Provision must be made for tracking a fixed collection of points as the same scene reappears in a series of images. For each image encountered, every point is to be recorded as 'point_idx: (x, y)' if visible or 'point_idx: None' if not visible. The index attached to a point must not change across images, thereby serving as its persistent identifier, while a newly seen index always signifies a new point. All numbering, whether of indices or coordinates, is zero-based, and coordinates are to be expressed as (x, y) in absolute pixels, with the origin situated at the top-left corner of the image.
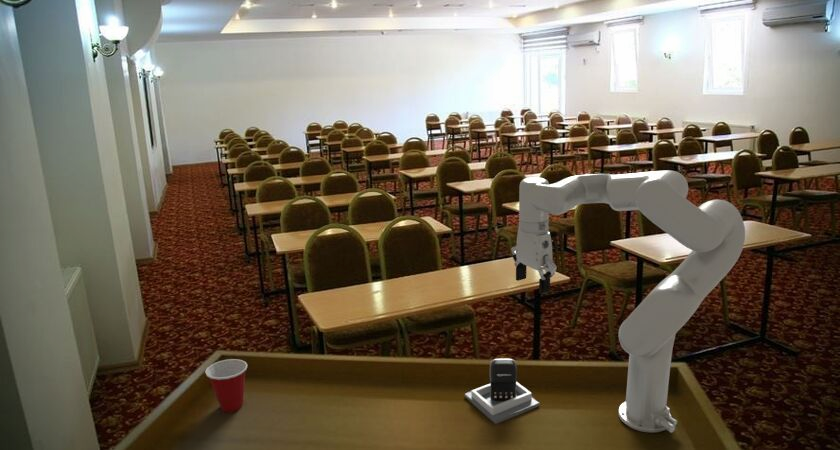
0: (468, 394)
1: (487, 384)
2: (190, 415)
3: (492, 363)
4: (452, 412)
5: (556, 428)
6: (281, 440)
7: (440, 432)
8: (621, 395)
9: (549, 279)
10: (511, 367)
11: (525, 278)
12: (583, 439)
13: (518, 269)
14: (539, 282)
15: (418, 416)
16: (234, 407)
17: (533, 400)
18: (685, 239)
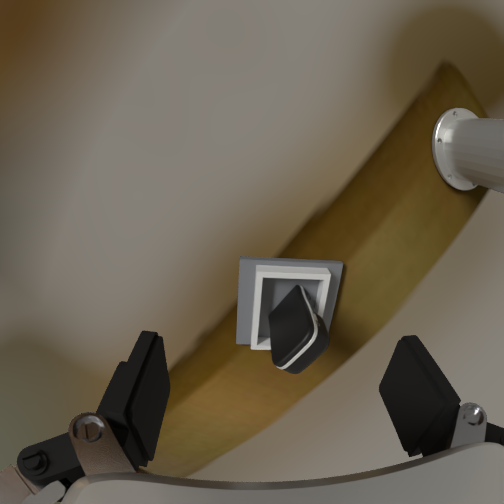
0: (241, 341)
1: (253, 320)
2: None
3: (287, 371)
4: (258, 369)
5: (394, 277)
6: (197, 468)
7: (284, 395)
8: (412, 117)
9: (459, 406)
10: (325, 349)
11: (162, 338)
12: (431, 263)
13: (153, 450)
14: (402, 438)
15: (237, 399)
16: (137, 471)
17: (331, 267)
18: None
